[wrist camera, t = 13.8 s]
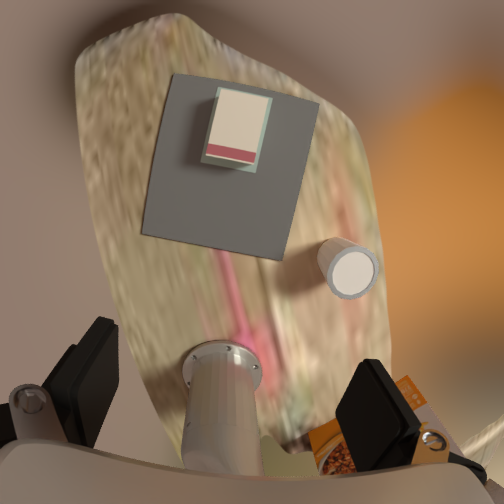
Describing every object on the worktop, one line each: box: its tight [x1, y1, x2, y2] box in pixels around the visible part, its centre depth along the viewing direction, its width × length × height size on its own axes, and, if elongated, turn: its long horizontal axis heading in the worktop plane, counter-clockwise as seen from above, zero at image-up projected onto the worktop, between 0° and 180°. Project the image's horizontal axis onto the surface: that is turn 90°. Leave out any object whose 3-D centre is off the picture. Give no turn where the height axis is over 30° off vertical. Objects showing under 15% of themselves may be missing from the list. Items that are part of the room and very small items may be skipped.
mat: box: [142, 73, 319, 261], centre depth 37 cm, size 22×19×1 cm
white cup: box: [317, 237, 379, 300], centre depth 39 cm, size 7×7×7 cm
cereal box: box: [308, 375, 465, 476], centre depth 38 cm, size 22×6×30 cm, turn 123°
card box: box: [206, 89, 268, 165], centre depth 34 cm, size 8×6×4 cm
